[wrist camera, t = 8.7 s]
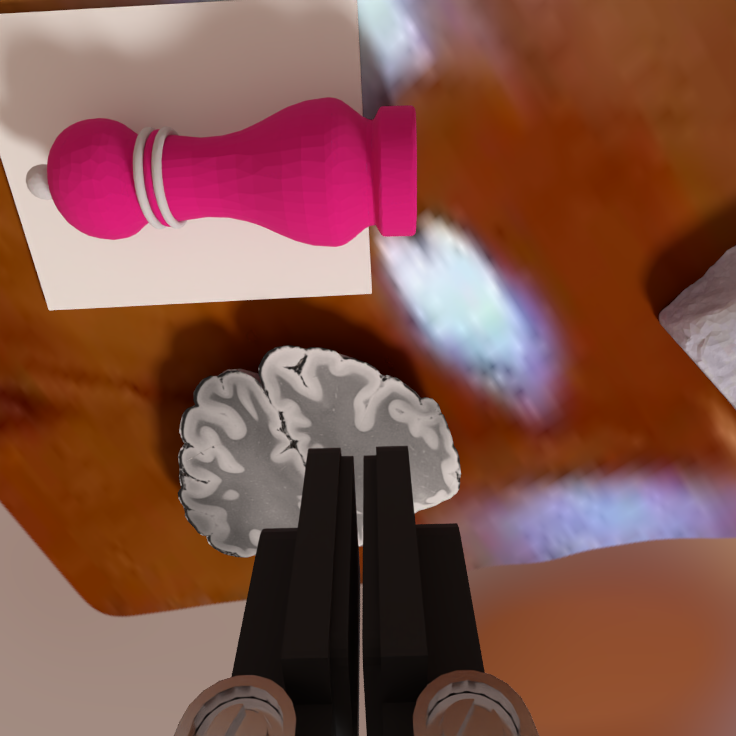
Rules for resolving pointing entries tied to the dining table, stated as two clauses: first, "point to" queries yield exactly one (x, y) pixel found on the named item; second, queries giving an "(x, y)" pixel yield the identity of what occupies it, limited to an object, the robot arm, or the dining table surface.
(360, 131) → the pepper mill
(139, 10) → the white mat
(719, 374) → the stone block
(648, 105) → the dining table surface
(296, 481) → the brain slice
